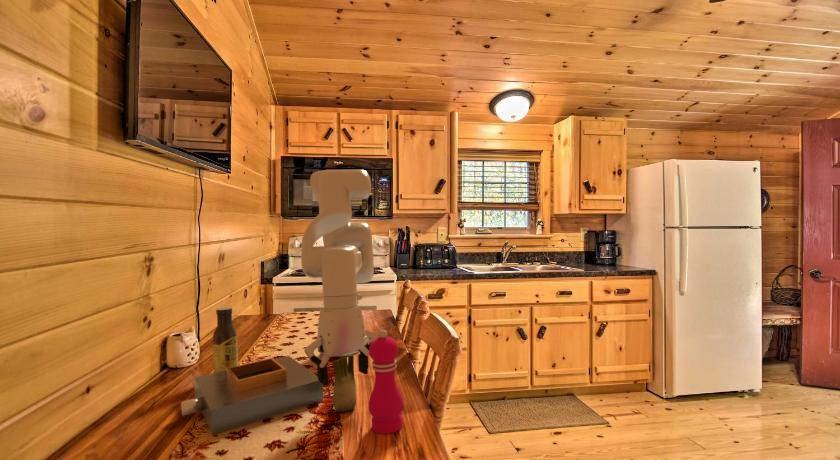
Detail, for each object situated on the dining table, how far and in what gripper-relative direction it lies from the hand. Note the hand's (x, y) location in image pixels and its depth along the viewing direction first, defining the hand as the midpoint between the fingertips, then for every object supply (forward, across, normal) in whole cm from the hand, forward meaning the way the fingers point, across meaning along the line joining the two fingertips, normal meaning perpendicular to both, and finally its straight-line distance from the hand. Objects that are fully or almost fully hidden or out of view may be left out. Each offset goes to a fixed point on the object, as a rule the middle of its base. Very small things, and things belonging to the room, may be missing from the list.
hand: (344, 378), depth 92 cm
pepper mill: (+8, -3, +12) cm, 15 cm away
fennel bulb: (+7, 0, -1) cm, 8 cm away
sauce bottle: (+7, +17, -41) cm, 44 cm away
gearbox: (+7, +16, -21) cm, 27 cm away
